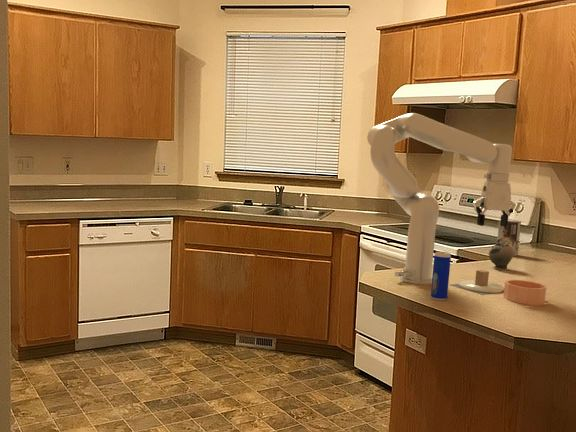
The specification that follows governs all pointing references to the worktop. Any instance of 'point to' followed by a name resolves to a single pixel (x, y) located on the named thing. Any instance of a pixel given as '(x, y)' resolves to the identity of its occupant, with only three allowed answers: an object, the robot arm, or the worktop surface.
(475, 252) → the worktop surface
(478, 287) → the lid
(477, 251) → the worktop surface
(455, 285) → the mat
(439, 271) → the beverage can
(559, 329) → the worktop surface
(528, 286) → the bowl
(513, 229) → the coffee box
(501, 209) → the robot arm
